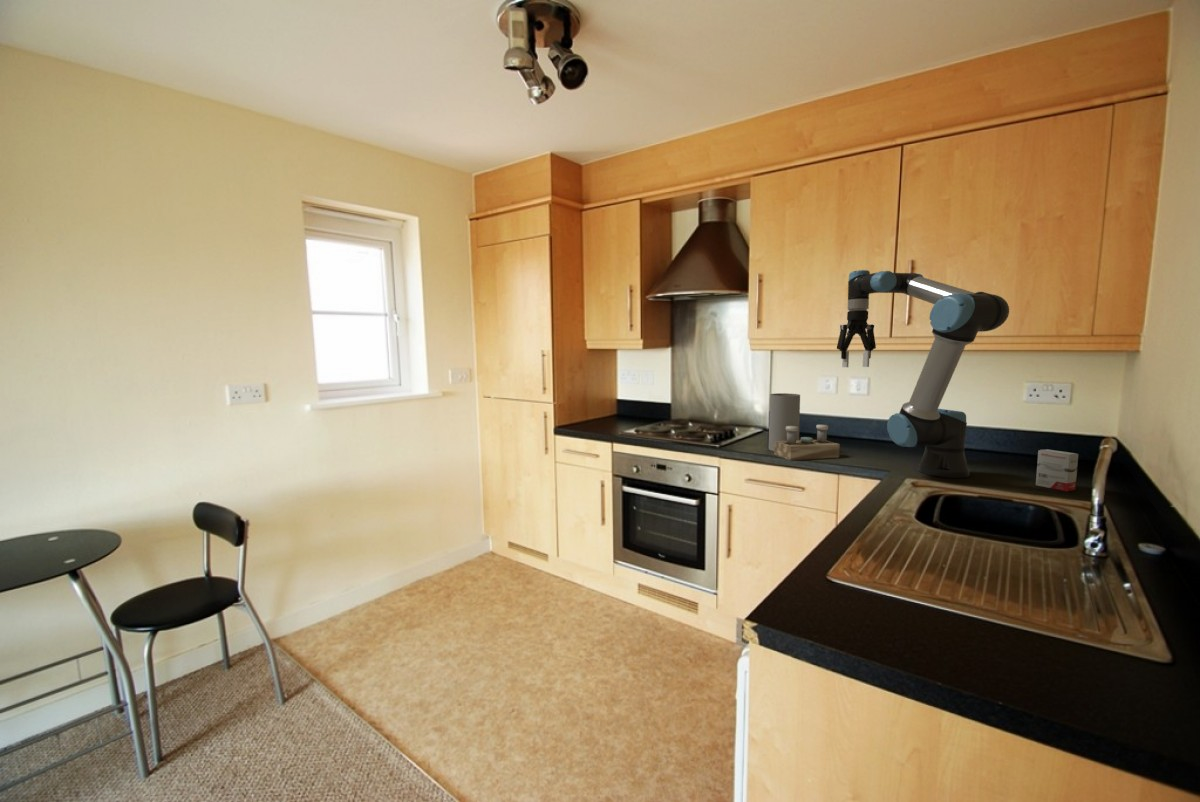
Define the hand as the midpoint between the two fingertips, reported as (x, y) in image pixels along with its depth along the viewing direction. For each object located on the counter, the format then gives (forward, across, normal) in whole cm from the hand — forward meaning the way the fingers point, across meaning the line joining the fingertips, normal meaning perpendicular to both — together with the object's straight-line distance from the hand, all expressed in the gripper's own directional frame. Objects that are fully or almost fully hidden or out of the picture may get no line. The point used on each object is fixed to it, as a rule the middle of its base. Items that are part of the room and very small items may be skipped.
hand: (855, 367), depth 205 cm
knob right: (+32, +10, -6) cm, 34 cm away
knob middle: (+37, +17, -6) cm, 41 cm away
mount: (+37, +17, -6) cm, 42 cm away
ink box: (+38, -32, +54) cm, 73 cm away
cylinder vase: (+38, +19, -20) cm, 47 cm away
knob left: (+32, +24, -6) cm, 40 cm away
